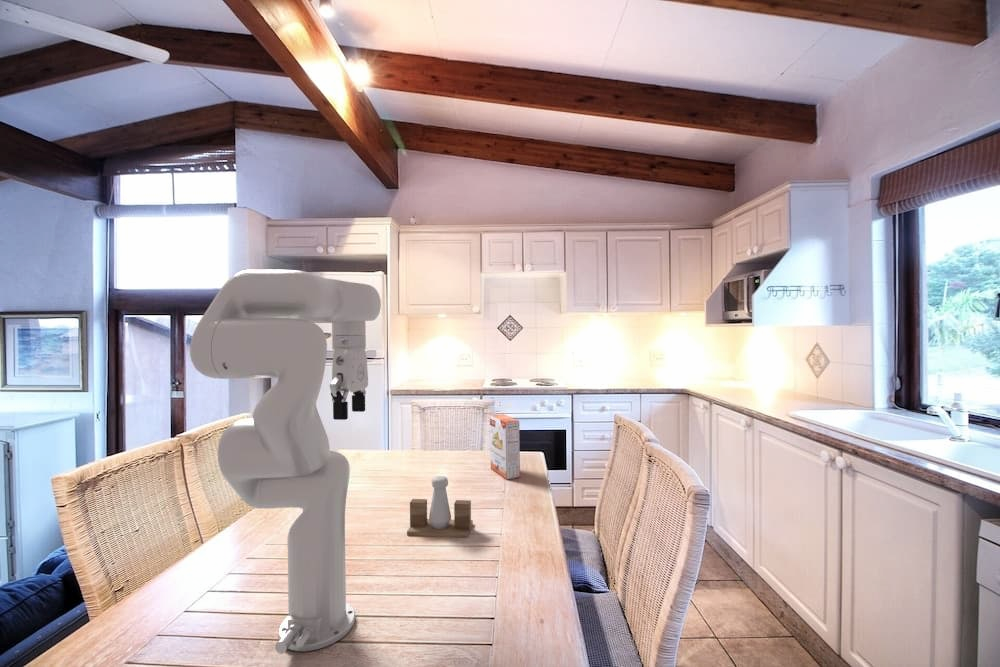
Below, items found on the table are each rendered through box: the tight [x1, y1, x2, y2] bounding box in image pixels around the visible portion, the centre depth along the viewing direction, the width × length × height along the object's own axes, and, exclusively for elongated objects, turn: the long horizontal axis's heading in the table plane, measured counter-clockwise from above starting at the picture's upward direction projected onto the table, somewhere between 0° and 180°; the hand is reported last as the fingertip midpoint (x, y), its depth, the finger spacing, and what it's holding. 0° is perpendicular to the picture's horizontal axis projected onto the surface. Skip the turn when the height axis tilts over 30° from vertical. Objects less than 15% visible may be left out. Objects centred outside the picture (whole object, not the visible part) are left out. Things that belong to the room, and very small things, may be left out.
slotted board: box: [406, 498, 474, 538], centre depth 118 cm, size 8×16×8 cm, turn 84°
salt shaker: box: [428, 475, 452, 530], centre depth 117 cm, size 6×6×13 cm
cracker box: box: [489, 413, 521, 481], centre depth 163 cm, size 14×6×21 cm, turn 25°
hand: (350, 415), depth 104 cm, fingers open, 9 cm apart
